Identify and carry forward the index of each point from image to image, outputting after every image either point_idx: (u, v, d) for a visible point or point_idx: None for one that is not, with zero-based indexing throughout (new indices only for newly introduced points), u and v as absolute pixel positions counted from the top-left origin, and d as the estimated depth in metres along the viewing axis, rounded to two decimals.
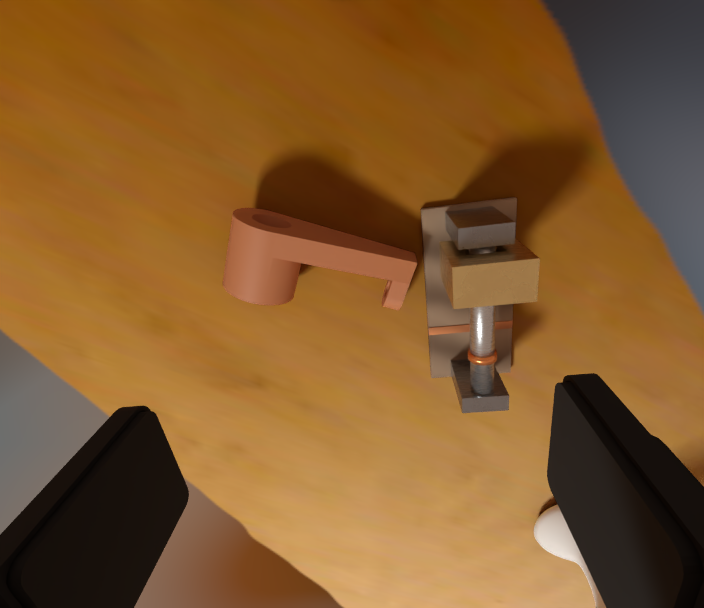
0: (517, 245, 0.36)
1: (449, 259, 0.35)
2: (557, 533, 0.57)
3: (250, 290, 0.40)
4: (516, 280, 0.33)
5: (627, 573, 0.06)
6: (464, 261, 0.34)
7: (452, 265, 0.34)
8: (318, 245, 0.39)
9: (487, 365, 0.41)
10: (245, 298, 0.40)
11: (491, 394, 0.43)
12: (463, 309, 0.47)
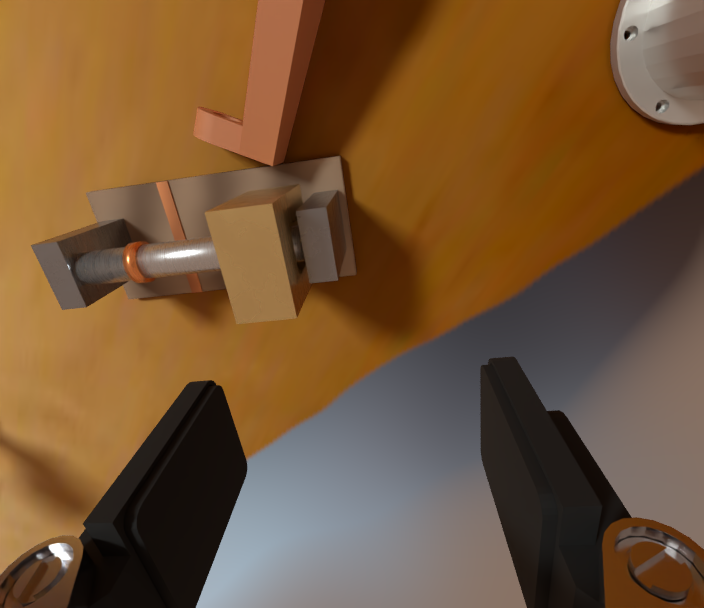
0: (306, 286, 0.28)
1: (281, 198, 0.24)
2: None
3: None
4: (262, 294, 0.24)
5: (519, 526, 0.07)
6: (281, 221, 0.23)
7: (274, 203, 0.22)
8: None
9: (126, 271, 0.27)
10: None
11: (80, 283, 0.28)
12: (205, 228, 0.34)
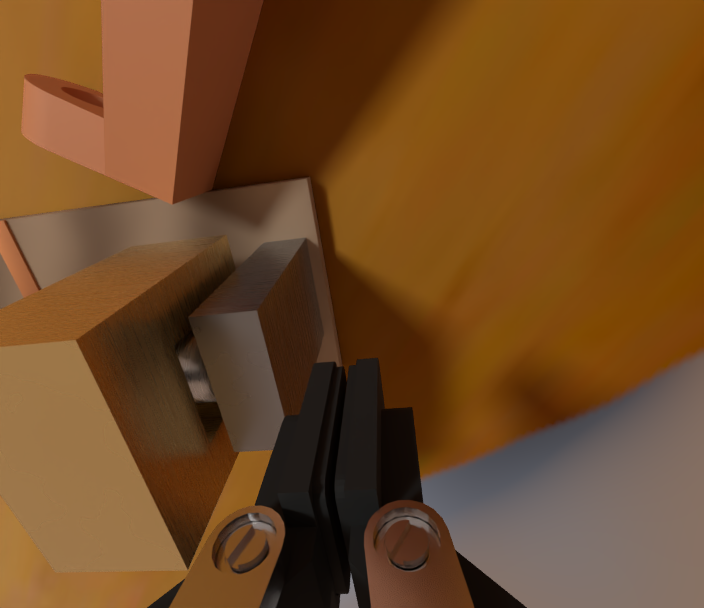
0: None
1: (139, 300, 0.10)
2: None
3: None
4: (99, 526, 0.10)
5: None
6: (135, 361, 0.09)
7: (93, 332, 0.08)
8: None
9: None
10: None
11: None
12: None
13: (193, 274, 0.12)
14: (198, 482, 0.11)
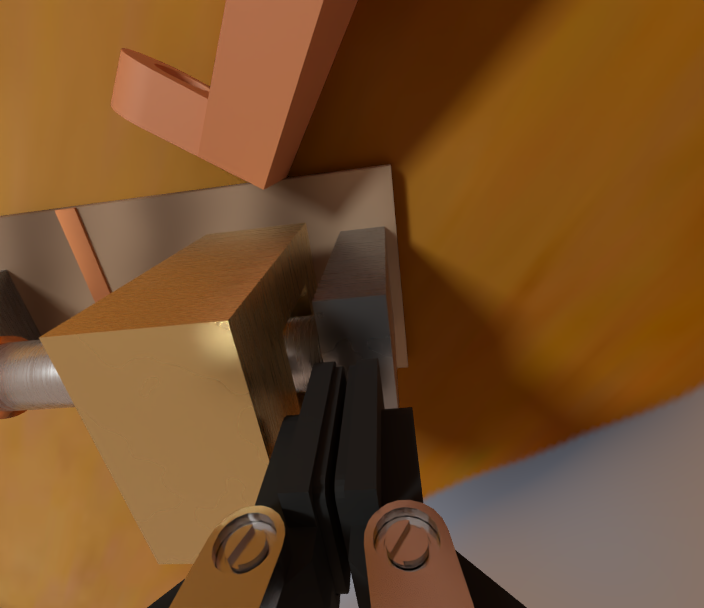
0: None
1: (261, 283, 0.09)
2: None
3: None
4: (214, 516, 0.10)
5: None
6: (261, 346, 0.09)
7: (237, 314, 0.08)
8: None
9: None
10: None
11: None
12: None
13: (289, 260, 0.12)
14: None
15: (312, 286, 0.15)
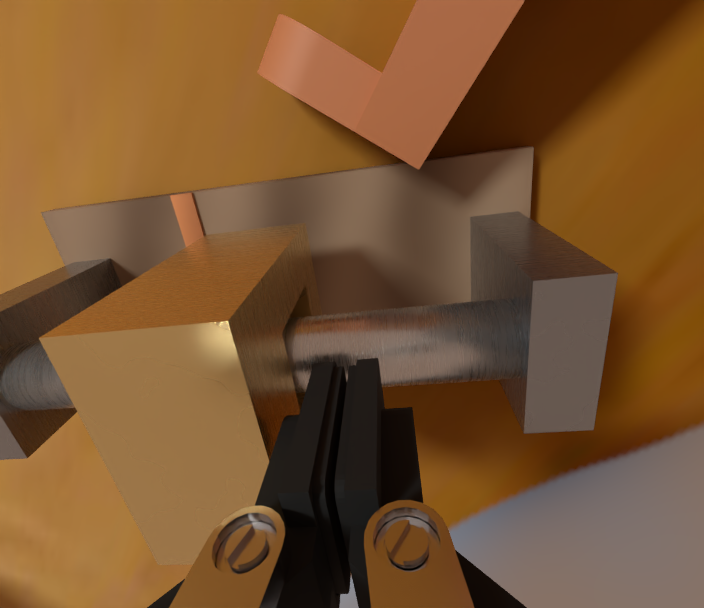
0: None
1: (261, 284, 0.09)
2: None
3: None
4: (214, 517, 0.10)
5: None
6: (261, 346, 0.09)
7: (237, 314, 0.08)
8: None
9: None
10: None
11: (12, 412, 0.13)
12: None
13: (289, 261, 0.12)
14: None
15: (312, 286, 0.15)
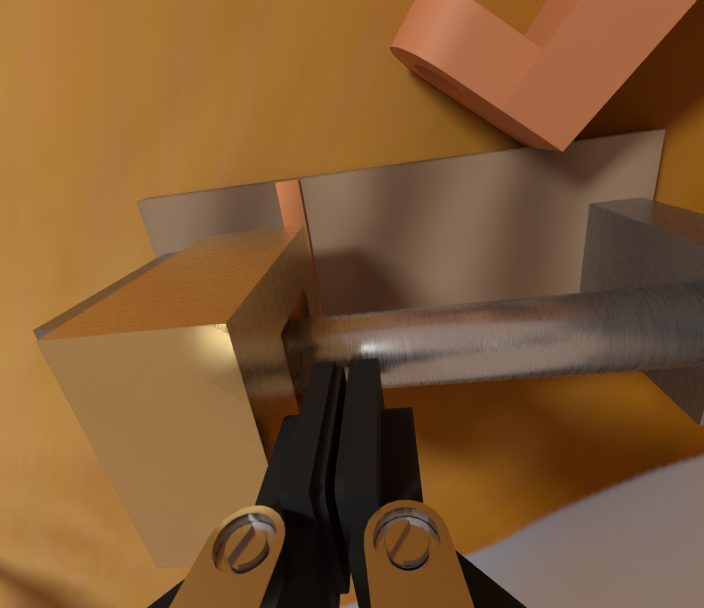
0: None
1: (259, 286, 0.09)
2: None
3: None
4: (213, 519, 0.10)
5: None
6: (259, 349, 0.09)
7: (235, 316, 0.08)
8: None
9: None
10: None
11: None
12: (358, 268, 0.18)
13: (287, 262, 0.12)
14: None
15: (311, 288, 0.15)
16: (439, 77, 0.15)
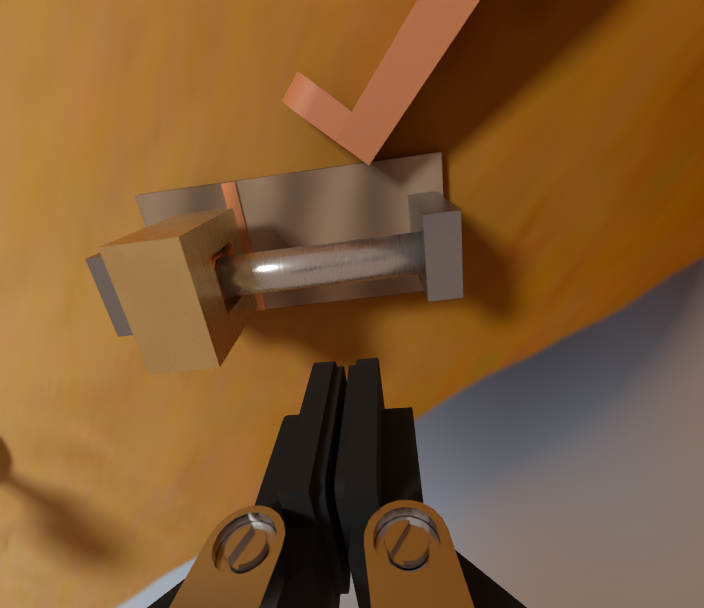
0: (238, 325, 0.24)
1: (197, 229, 0.20)
2: None
3: None
4: (177, 341, 0.20)
5: None
6: (196, 256, 0.20)
7: (183, 236, 0.19)
8: None
9: None
10: None
11: None
12: (276, 236, 0.29)
13: (217, 224, 0.23)
14: (223, 330, 0.22)
15: (237, 244, 0.26)
16: None
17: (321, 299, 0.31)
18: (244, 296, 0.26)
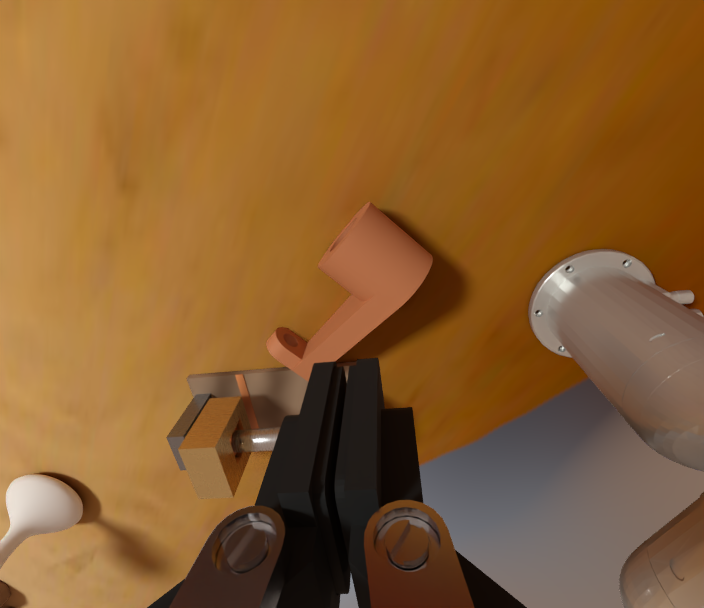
0: (243, 464, 0.45)
1: (223, 432, 0.41)
2: (37, 499, 0.56)
3: (351, 255, 0.34)
4: (212, 486, 0.42)
5: None
6: (222, 448, 0.41)
7: (216, 444, 0.40)
8: (365, 332, 0.39)
9: None
10: (344, 245, 0.34)
11: None
12: (266, 400, 0.50)
13: (233, 417, 0.44)
14: (235, 475, 0.43)
15: (243, 416, 0.47)
16: None
17: None
18: None
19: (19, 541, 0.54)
